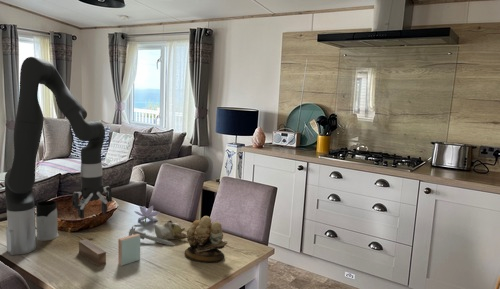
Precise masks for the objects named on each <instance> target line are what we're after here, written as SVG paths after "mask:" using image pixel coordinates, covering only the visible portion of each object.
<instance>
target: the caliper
mask: <svg viewBox="0 0 500 289" xmlns="http://www.w3.org/2000/svg"><path fill="white" fill-rule="evenodd" d="M135 234H139V235H140V240H145V239H146V240H150V241H153V242H157V243H159V244H164V245H166V246H173V247H174V246H175V245H176V244H175V243H173V241H170V240H167V239H161V238H157V236H155V235H150V234H148V233H146V232H144V231H140V230H138V229H136V227H134V226H132V227H131V228H130V229H129V231H128V236H131V235H135Z"/></svg>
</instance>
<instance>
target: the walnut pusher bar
mask: <svg viewBox="0 0 500 289" xmlns="http://www.w3.org/2000/svg"><path fill="white" fill-rule="evenodd" d="M78 253H79V254H80V255H81V256H83V257H85V258H86V259H87V260H89V261H90V262H91V263H92V264H93V265H95V266H97V267H101V266H103V265H107V251H105V250H104V249H102V248H100V247H99V246H97V245H96V244H95V243H94V242H92V241H90V240H88V239H87V238H85V239H81V240H78Z"/></svg>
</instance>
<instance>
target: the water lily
mask: <svg viewBox="0 0 500 289" xmlns="http://www.w3.org/2000/svg"><path fill="white" fill-rule="evenodd" d="M138 206H139V211H140V212H138V211H134V213H135V214H136V215H139V216H140V217H138V219H137V221H139V220H140V221H144V222H143V223H144V224H143V226H144V225H145V226H146V224H147V222H146V221H147V220H150V221H152V222H153V221H154V222H158V219H157V218H156V216H159V215H161V211H157V210H154V205H150V206H149V207H148V208H147V207H146V206H145V205H143V206H141V205H138ZM154 217H155V218H154ZM140 221H139V222H140Z"/></svg>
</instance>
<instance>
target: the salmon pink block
mask: <svg viewBox="0 0 500 289" xmlns="http://www.w3.org/2000/svg"><path fill="white" fill-rule="evenodd" d="M117 240H118V243H117V245H118V248H117V249H118V258H117V259H118V260H117V261H118V262H117V264H118V265H119V266H120V267H121V266H125V265H128V264H131V263H134V262H137V261H140V260H141V239H140V235H139V234H135V235H133V234H132V235H131V236H129V235H127V236H124V237H121V238H118V239H117Z"/></svg>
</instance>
